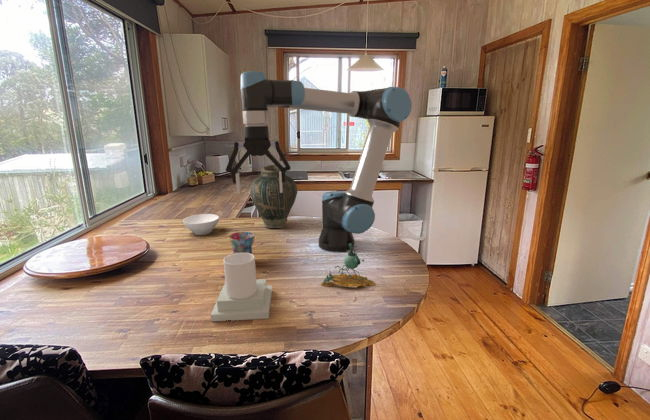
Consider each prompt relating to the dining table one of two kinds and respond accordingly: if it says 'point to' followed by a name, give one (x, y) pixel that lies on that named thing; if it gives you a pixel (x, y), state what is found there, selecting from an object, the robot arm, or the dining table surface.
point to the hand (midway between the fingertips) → (260, 192)
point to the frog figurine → (349, 280)
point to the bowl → (201, 223)
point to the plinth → (244, 313)
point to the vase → (273, 197)
